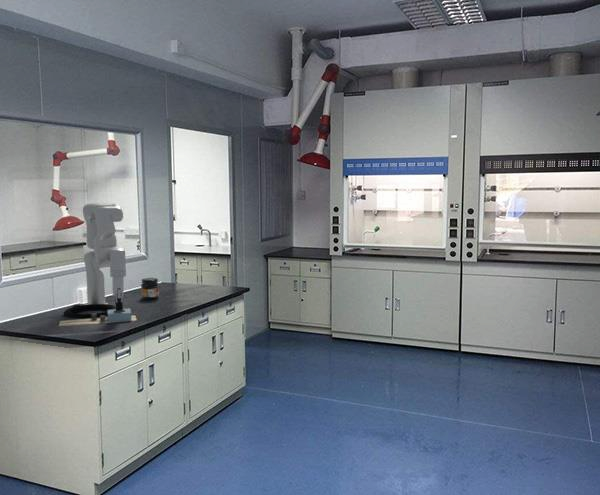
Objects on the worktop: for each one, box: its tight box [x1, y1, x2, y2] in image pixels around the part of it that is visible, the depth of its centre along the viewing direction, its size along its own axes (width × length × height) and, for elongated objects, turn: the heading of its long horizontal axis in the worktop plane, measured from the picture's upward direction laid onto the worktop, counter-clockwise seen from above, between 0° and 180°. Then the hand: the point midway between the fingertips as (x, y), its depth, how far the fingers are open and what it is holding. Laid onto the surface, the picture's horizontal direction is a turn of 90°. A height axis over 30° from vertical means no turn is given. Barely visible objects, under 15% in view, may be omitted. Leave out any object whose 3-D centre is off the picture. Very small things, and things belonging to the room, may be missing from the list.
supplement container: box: [140, 277, 160, 301], centre depth 339 cm, size 10×10×12 cm
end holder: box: [107, 308, 133, 323], centre depth 280 cm, size 11×11×4 cm
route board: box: [58, 312, 137, 327], centre depth 276 cm, size 12×36×4 cm, turn 110°
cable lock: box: [63, 303, 115, 319], centre depth 295 cm, size 28×4×30 cm
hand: (119, 308), depth 279 cm, fingers open, 4 cm apart
